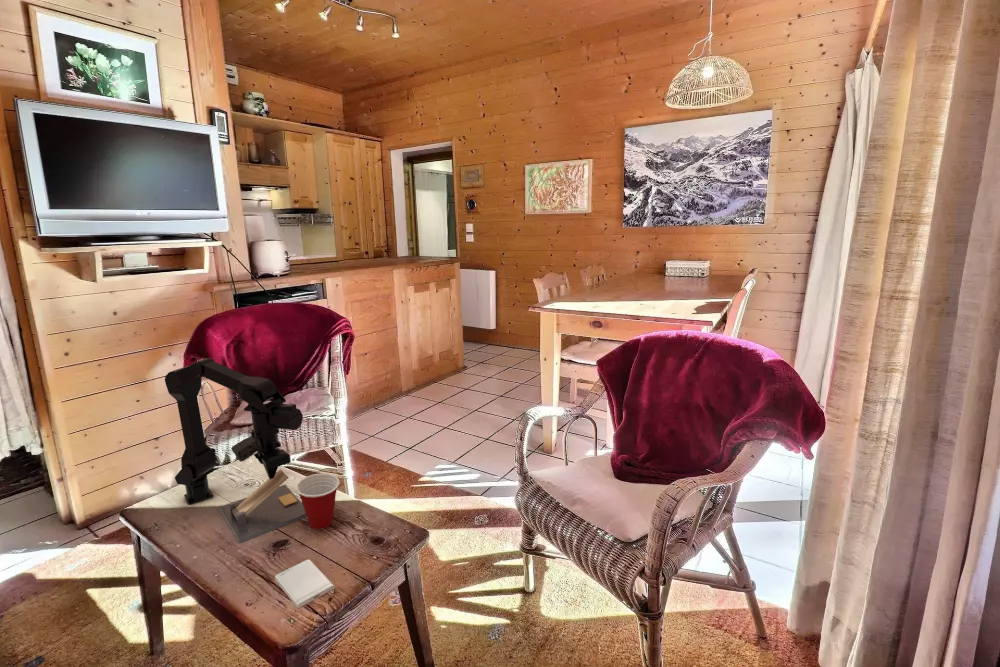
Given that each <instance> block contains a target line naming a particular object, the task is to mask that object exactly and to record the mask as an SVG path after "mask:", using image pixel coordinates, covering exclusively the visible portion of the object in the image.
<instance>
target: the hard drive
mask: <svg viewBox="0 0 1000 667" xmlns="http://www.w3.org/2000/svg"><path fill="white" fill-rule="evenodd" d="M274 580H275V582H276V583H277V584H278V585H279V587H280V588H281V589H282V591H283V592H284V593H285V595H286V596H288V598H289V599H290V601H291V602H292V603H293V605H295V606H296V608H297V609H300V608H302V607H304V606H306V605H308V604H309V603H311V602H313V601H315V600H316V599H318V598H320V597H322V596H323V595H326V594H327V593H329V592H331V591H333V590H335V585H334V584H333V582H331V580H329V578H328V577H327V576H326V575H325V574H324V573H323V572H322V571H321V570H320V569H319V567H317V565H315V564H314V562H312V561H311V559H305V560H303V561H301V562H300V563H298V564H296V565H293V566H291V567H290V568H287V569H286V570H283V571H282V572H279V573H277V574H276V575H275V576H274Z"/></svg>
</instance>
